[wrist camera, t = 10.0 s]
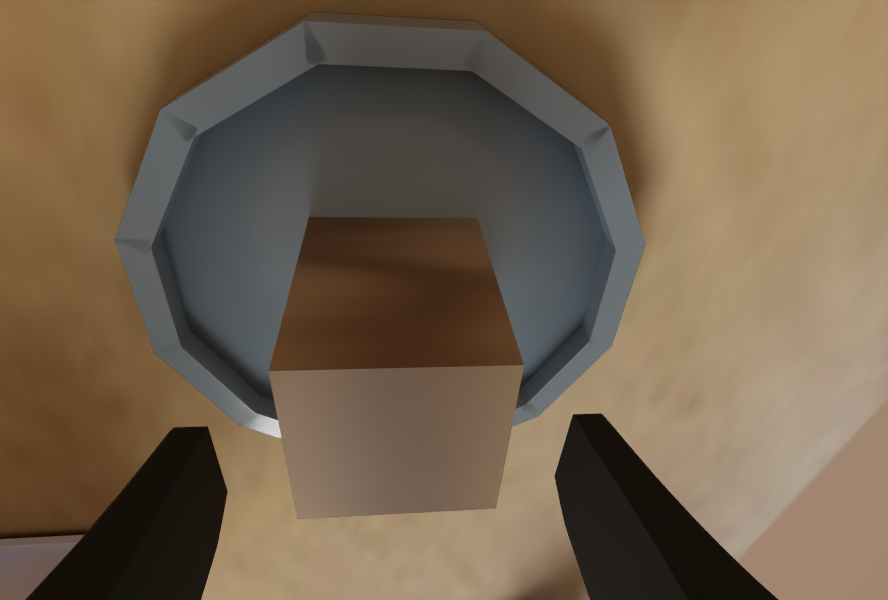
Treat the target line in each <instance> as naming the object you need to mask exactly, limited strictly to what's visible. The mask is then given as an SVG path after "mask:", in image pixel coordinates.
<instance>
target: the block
mask: <svg viewBox="0 0 888 600" xmlns="http://www.w3.org/2000/svg"><path fill="white" fill-rule="evenodd" d="M523 368H524V363H523V360H522V357H521V354H520V351H519V348H518V344H517V341H516V338H515V335H514V332H513V329H512V326H511V323H510V319H509V316H508V313H507V310H506V307H505V304H504V301H503V298H502V294H501V291H500V288H499V285H498V282H497V279H496V276H495V273H494V269H493V266H492V263H491V260H490V257H489V254H488V251H487V248H486V244H485V241H484V238H483V235H482V232H481V229H480V226H479V223H478V219H477V218H372V217H309V218H308V222H307V226H306V230H305V234H304V238H303V241H302V245H301V249H300V253H299V257H298V260H297V264H296V268H295V272H294V276H293V280H292V283H291V287H290V291H289V295H288V299H287V302H286V306H285V310H284V314H283V318H282V321H281V325H280V329H279V333H278V337H277V341H276V344H275V348H274V352H273V356H272V360H271V363H270V367H269V377H270V382H271V387H272V392H273V397H274V402H275V407H276V413H277V418H278V423H279V428H280V433H281V438H282V443H283V449H284V454H285V459H286V464H287V469H288V474H289V479H290V485H291V490H292V495H293V500H294V505H295V510H296V515H297V519H310V518H329V517H347V516H366V515H384V514H402V513H421V512H439V511H458V510H476V509H495V508H496V505H497V500H498V495H499V490H500V485H501V480H502V475H503V470H504V465H505V460H506V455H507V450H508V444H509V439H510V434H511V429H512V424H513V419H514V414H515V409H516V404H517V399H518V394H519V389H520V383H521V378H522V373H523Z"/></svg>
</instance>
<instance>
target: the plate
mask: <svg viewBox="0 0 888 600" xmlns="http://www.w3.org/2000/svg"><path fill="white" fill-rule="evenodd" d="M159 111H160V112H159V115H158V117H157V120H156V123H155V126H154V129H153V132H152V135H151V137H150V140H149V143H148V146H147V149H146V152H145V155H144V157H143V160H142V163H141V166H140V169H139V172H138V175H137V178H136V180H135V183H134V186H133V189H132V192H131V195H130V198H129V200H128V203H127V206H126V209H125V212H124V215H123V218H122V221H121V223H120V226H119V229H118V232H117V235H116V238H115V239H114V240H115V243H116V245H117V248H118V251H119V254H120V257H121V260H122V262H123V265H124V268H125V271H126V274H127V277H128V280H129V282H130V285H131V288H132V291H133V294H134V297H135V299H136V302H137V305H138V308H139V311H140V314H141V316H142V319H143V322H144V325H145V328H146V331H147V334H148V336H149V339H150V342H151V345H152V348H153V351H154V353H155V354H156V355H157V356H159V357H160V358H161V359H162V360H163V361H164V362H166V363H167V364H168V365H169V366H170V367H171V368H173V369H174V370H175V371H176V372H177V373H179V374H180V375H181V376H182V377H183V378H184V379H186V380H187V381H188V382H189V383H190V384H191V385H193V386H194V387H195V388H196V389H197V390H199V391H200V392H201V393H202V394H203V395H204V396H206V397H207V398H208V399H209V400H210V401H211V402H213V403H214V404H215V405H216V406H217V407H219V408H220V409H221V410H222V411H223V412H224V413H226V414H227V415H228V416H229V417H230V418H231V419H233V420H234V421H235V422H236V423H237V424H239V425H240V426H243V427H246V428H250V429H253V430H256V431H259V432H262V433H266V434H269V435H272V436H275V437H278V438H281V433H280V428H279V423H278V418H277V413H276V407H275V402H274V397H273V392H272V387H271V382H270V377H269V367H270V363H271V360H272V356H273V352H274V348H275V344H276V341H277V337H278V333H279V329H280V325H281V321H282V318H283V314H284V310H285V306H286V302H287V299H288V295H289V291H290V287H291V283H292V280H293V276H294V272H295V268H296V264H297V260H298V257H299V253H300V249H301V245H302V241H303V238H304V234H305V230H306V226H307V222H308V218H309V217H372V218H477V219H478V223H479V226H480V229H481V232H482V235H483V238H484V241H485V244H486V248H487V251H488V254H489V257H490V260H491V263H492V266H493V269H494V273H495V276H496V279H497V282H498V285H499V288H500V291H501V294H502V298H503V301H504V304H505V307H506V310H507V313H508V316H509V319H510V323H511V326H512V329H513V332H514V335H515V338H516V341H517V344H518V348H519V351H520V354H521V357H522V360H523V363H524V368H523V373H522V378H521V383H520V389H519V394H518V399H517V404H516V409H515V414H514V419H513V424H512V426H515V425H517V424H520V423H523V422H525V421H528V420H530V419H533V418H535V417H538V416H539V415H540V414H541V413H542V412H543V411H544V410H546V409H547V408H548V407H549V406H550V405H551V404H552V403H553V402H554V401H555V400H556V399H557V398H558V397H559V396H560V395H561V394H562V393H563V392H564V391H565V390H566V389H567V388H568V387H570V386H571V385H572V384H573V383H574V382H575V381H576V380H577V379H578V378H579V377H580V376H581V375H582V374H583V373H584V372H585V371H586V370H587V369H588V368H589V367H590V366H591V365H593V364H594V363H595V362H596V361H597V360H598V359H599V358H600V357H601V356H602V355H603V354H604V353H605V352H606V351H607V350H608V349H609V348H610V347H611V346H612V344H613V341H614V338H615V335H616V332H617V329H618V326H619V323H620V320H621V317H622V314H623V311H624V308H625V305H626V302H627V299H628V296H629V293H630V290H631V286H632V283H633V280H634V277H635V274H636V271H637V268H638V265H639V262H640V259H641V256H642V253H643V250H644V247H645V244H646V243H645V241H644V238H643V234H642V231H641V228H640V224H639V221H638V218H637V214H636V211H635V207H634V204H633V201H632V197H631V194H630V191H629V187H628V184H627V180H626V177H625V174H624V170H623V167H622V164H621V160H620V157H619V153H618V150H617V147H616V143H615V140H614V136H613V133H612V130H611V126H610V124H609V123H608V122H607V121H605V120H604V119H603V118H602V117H601V116H600V115H598V114H597V113H596V112H595V111H594V110H593V109H592V108H590V107H588V106H587V105H586V104H584V103H583V102H582V101H580V100H579V99H578V98H576V97H575V96H574V95H572V94H571V93H570V92H568V91H567V90H566V89H564V88H563V87H562V86H561V85H559V84H558V83H557V82H555V81H554V80H553V79H551V78H550V77H549V76H547V75H546V74H545V73H543V72H542V71H541V70H539V69H538V68H537V67H535V66H534V65H533V64H532V63H530V62H529V61H528V60H526V59H525V58H524V57H522V56H521V55H520V54H518V53H517V52H516V51H514V50H513V49H512V48H510V47H509V46H508V45H506V44H505V43H504V42H503V41H501V40H500V39H499V38H497V37H496V36H495V35H493V34H492V33H491V32H489V31H488V30H487V29H485V28H484V27H483V26H481V25H480V24H479V23H478V22H477V21H460V20H442V19H424V18H407V17H389V16H371V15H353V14H336V13H318V12H311V13H310V14H308V15H307V16H305V17H304V18H302V19H300V20H299V21H297V22H295V23H294V24H292V25H291V26H289V27H287V28H286V29H284V30H282V31H281V32H279V33H278V34H276V35H274V36H273V37H271V38H269V39H268V40H266V41H265V42H263V43H261V44H260V45H258V46H256V47H255V48H253V49H252V50H250V51H248V52H247V53H245V54H243V55H242V56H240V57H239V58H237V59H235V60H234V61H232V62H230V63H229V64H227V65H226V66H224V67H222V68H221V69H219V70H217V71H216V72H214V73H213V74H211V75H209V76H208V77H206V78H204V79H203V80H201V81H200V82H198V83H196V84H195V85H193V86H191V87H190V88H188V89H187V90H185V91H183V92H182V93H179V94H178V95H177V96H176V97H175V98H173V99H172V100H171V101H170V102H168V103H167V104H166V105H165V106H163V107H162V108H161V109H160V110H159Z"/></svg>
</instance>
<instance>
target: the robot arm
mask: <svg viewBox="0 0 888 600" xmlns="http://www.w3.org/2000/svg"><path fill="white" fill-rule="evenodd" d="M555 480H556V485H557V490H558V495H559V500H560V505H561V509H562V513H563V518H564V522H565V526H566V529H567V532H568V535H569V538H570V541H571V544H572V547H573V550H574V553H575V556H576V559H577V562H578V565H579V568H580V571H581V574H582V577H583V580H584V583H585V586H586V589H587V592H588V595H589V597H590V600H778V599H777V598H776V597H775V596H773V595H772V594H771V593H770V592H769V591H768V590H767V589H766V588H765V587H764V586H762V585H761V584H760V583H759V582H758V581H757V580H756V579H755V578H754V577H753V576H752V575H750V574H749V573H748V572H747V571H746V570H745V569H744V568H743V567H742V566H741V565H740V564H739V563H738V562H737V561H736V560H735V559H734V558H733V557H732V556H731V555H730V554H729V553H728V552H727V551H726V550H725V549H724V548H723V547H722V546H721V545H720V544H719V543H718V542H717V541H716V540H715V539H714V538H713V537H712V536H711V535H710V534H709V533H708V532H707V531H706V530H705V529H704V528H703V527H702V526H701V525H700V524H699V523H698V522H697V521H696V520H695V519H694V518H693V517H692V516H691V515H690V513H689V512H688V511H687V510H686V509H685V508H684V507H683V506H682V505H681V504H680V503H679V501H678V500H677V499H676V498H675V497H674V496H673V495H672V494H671V493H670V492H669V491H668V489H667V488H666V487H665V486H664V485H663V484H662V483H661V482H660V481H659V479H658V478H657V477H656V476H655V475H654V474H653V473H652V472H651V470H650V469H649V468H648V467H647V466H646V465H645V463H644V462H643V461H642V460H641V459H640V458H639V457H638V455H637V454H636V453H635V452H634V451H633V449H632V448H631V447H630V446H629V445H628V444H627V442H626V441H625V440H624V439H623V438H622V437H621V435H620V434H619V433H618V432H617V431H616V429H615V428H614V427H613V426H612V425H611V424H610V422H609V421H608V420H607V419H606V418H605V417H604V416H603V415H602V414H573V417H572V420H571V423H570V427H569V430H568V433H567V437H566V440H565V443H564V447H563V450H562V453H561V457H560V460H559V463H558V467H557V470H556V473H555ZM226 496H227V489H226V485H225V482H224V479H223V475H222V472H221V469H220V465H219V462H218V459H217V456H216V452H215V449H214V446H213V442H212V439H211V436H210V432H209V429H208V427H177V428H173V429H172V430H171V431H170V432H169V433H168V434H167V435H166V437H165V438H164V439H163V440H162V442H161V443H160V444H159V445H158V447H157V448H156V449H155V450H154V452H153V453H152V454H151V456H150V457H149V458H148V459H147V461H146V462H145V463H144V464H143V466H142V467H141V468H140V469H139V471H138V472H137V473H136V474H135V475H134V477H133V478H132V479H131V480H130V482H129V483H128V484H127V485H126V486H125V488H124V489H123V490H122V491H121V493H120V494H119V495H118V496H117V497H116V499H115V500H114V501H113V502H112V503H111V504H110V506H109V507H108V508H107V509H106V510H105V511H104V513H103V514H102V515H101V516H100V517H99V518H98V520H97V521H96V522H95V523H94V524H93V525H92V527H91V528H90V529H89V530H88V531H87V532H86V534H85V535H69V536H49V537H30V538H11V539H0V600H201V598H202V594H203V591H204V588H205V585H206V581H207V578H208V575H209V571H210V568H211V565H212V562H213V558H214V555H215V551H216V548H217V544H218V539H219V534H220V529H221V524H222V519H223V513H224V508H225V502H226Z"/></svg>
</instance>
